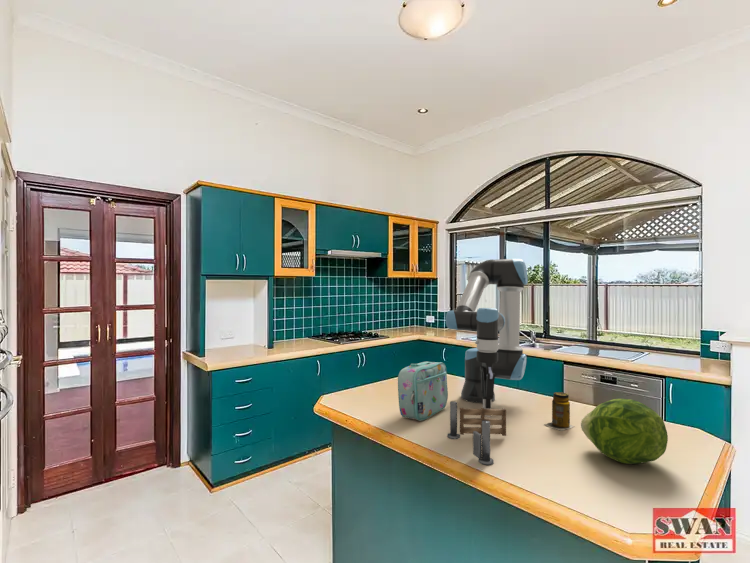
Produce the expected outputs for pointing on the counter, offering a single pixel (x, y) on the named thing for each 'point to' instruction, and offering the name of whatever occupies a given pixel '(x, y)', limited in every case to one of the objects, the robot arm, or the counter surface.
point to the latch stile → (482, 444)
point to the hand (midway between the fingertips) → (487, 416)
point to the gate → (479, 420)
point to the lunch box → (422, 390)
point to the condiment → (560, 412)
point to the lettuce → (626, 431)
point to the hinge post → (453, 421)
